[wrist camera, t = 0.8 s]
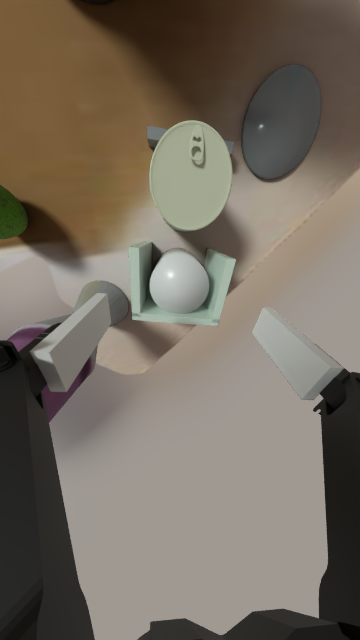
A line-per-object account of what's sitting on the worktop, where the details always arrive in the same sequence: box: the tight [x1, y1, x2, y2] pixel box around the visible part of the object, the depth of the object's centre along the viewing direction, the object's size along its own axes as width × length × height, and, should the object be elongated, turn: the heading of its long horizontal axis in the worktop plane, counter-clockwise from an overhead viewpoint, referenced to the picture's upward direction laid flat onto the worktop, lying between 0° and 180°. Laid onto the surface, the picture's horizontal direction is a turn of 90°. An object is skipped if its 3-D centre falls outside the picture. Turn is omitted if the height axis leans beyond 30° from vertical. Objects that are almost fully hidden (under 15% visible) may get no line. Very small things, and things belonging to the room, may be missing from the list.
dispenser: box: [129, 126, 236, 326], centre depth 23 cm, size 24×13×13 cm, turn 174°
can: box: [149, 120, 232, 232], centre depth 21 cm, size 9×9×12 cm
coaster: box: [242, 64, 321, 179], centre depth 23 cm, size 11×11×1 cm
